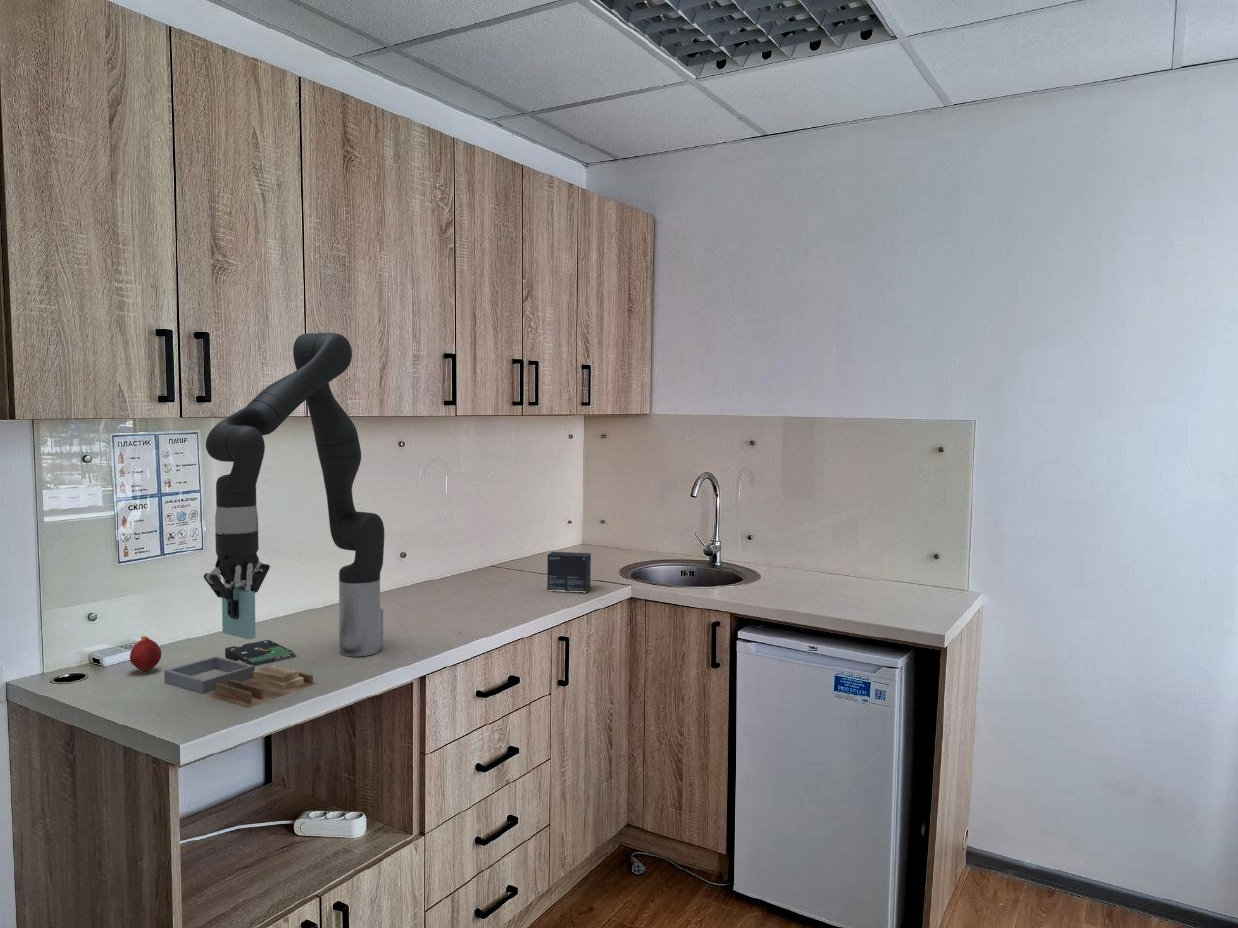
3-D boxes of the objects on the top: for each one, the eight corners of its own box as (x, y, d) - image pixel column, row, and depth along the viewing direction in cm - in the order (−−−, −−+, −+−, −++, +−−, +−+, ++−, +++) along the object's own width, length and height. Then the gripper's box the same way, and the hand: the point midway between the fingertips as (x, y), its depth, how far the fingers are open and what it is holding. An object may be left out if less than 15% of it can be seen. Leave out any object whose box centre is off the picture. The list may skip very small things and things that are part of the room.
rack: (274, 677, 175) (274, 663, 175) (316, 688, 169) (316, 673, 168) (204, 700, 161) (204, 684, 161) (247, 713, 155) (247, 697, 154)
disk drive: (224, 659, 188) (252, 674, 178) (223, 647, 188) (251, 661, 178) (268, 650, 196) (297, 663, 186) (268, 638, 196) (297, 651, 186)
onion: (148, 666, 181) (147, 630, 180) (167, 669, 179) (167, 633, 178) (124, 674, 175) (123, 637, 175) (143, 677, 173) (142, 640, 173)
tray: (216, 672, 178) (216, 655, 178) (254, 682, 172) (254, 665, 171) (164, 687, 168) (164, 670, 167) (203, 699, 162) (202, 681, 161)
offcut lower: (274, 675, 173) (274, 669, 172) (303, 683, 168) (303, 677, 168) (253, 682, 168) (253, 676, 168) (283, 690, 164) (283, 684, 164)
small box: (591, 589, 265) (591, 552, 265) (586, 594, 259) (587, 556, 258) (551, 587, 267) (551, 550, 267) (546, 591, 261) (546, 554, 260)
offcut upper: (269, 671, 172) (269, 665, 172) (299, 676, 169) (299, 670, 169) (252, 677, 168) (252, 671, 168) (282, 683, 165) (282, 676, 165)
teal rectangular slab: (229, 631, 162) (228, 586, 162) (255, 637, 158) (254, 591, 158) (222, 633, 161) (221, 587, 160) (249, 639, 157) (248, 593, 157)
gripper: (254, 523, 166) (256, 607, 167) (191, 531, 154) (193, 622, 155) (279, 526, 162) (281, 612, 164) (217, 535, 151) (219, 628, 152)
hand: (238, 617), depth 159 cm, fingers closed on teal rectangular slab, 1 cm apart
